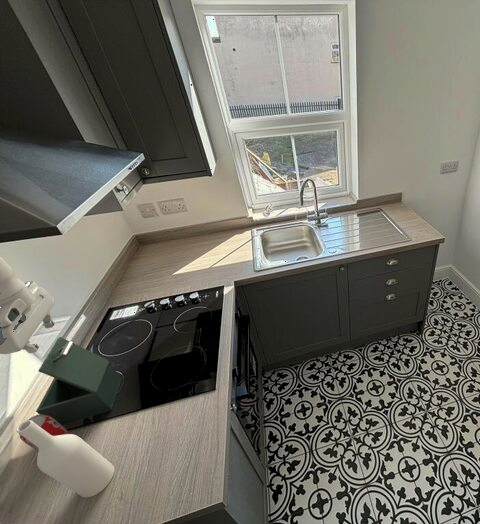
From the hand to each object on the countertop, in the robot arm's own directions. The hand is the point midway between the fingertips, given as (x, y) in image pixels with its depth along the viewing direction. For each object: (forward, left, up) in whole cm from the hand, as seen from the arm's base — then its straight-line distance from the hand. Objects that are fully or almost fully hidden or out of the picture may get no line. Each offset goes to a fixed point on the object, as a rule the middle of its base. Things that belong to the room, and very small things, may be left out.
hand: (43, 338), depth 82 cm
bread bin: (-3, +1, -32) cm, 32 cm away
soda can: (-8, -12, -32) cm, 35 cm away
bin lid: (+1, +1, -14) cm, 14 cm away
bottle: (+7, -27, -32) cm, 42 cm away
